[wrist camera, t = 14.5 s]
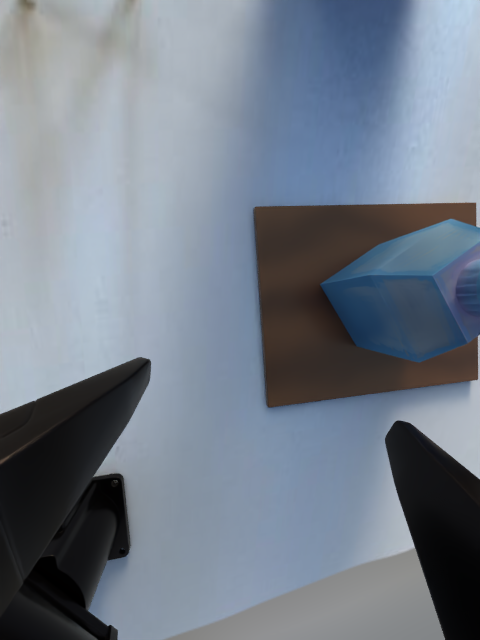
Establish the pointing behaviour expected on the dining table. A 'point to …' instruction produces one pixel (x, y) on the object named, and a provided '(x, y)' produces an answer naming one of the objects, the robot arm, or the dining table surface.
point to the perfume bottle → (413, 292)
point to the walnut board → (317, 311)
